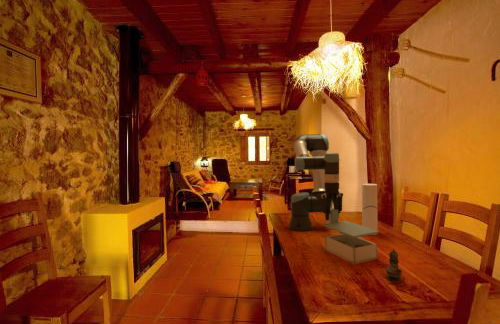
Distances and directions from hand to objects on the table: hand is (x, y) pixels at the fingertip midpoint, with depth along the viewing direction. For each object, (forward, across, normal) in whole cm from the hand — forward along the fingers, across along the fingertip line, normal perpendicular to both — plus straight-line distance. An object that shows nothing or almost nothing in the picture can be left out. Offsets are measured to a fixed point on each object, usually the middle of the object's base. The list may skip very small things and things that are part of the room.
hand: (332, 225), depth 144 cm
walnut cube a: (+10, -3, -8) cm, 13 cm away
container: (+12, +36, +9) cm, 39 cm away
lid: (0, 0, -11) cm, 11 cm away
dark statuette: (+11, -3, -40) cm, 42 cm away
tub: (+11, 0, -13) cm, 17 cm away
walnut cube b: (+10, +2, -18) cm, 21 cm away
